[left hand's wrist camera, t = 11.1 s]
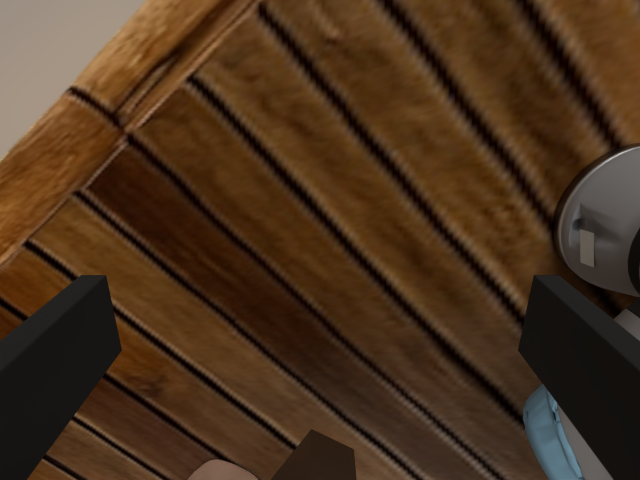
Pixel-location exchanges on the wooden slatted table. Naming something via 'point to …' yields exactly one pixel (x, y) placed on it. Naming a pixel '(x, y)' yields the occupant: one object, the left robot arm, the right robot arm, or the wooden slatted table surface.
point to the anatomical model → (221, 472)
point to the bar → (318, 460)
